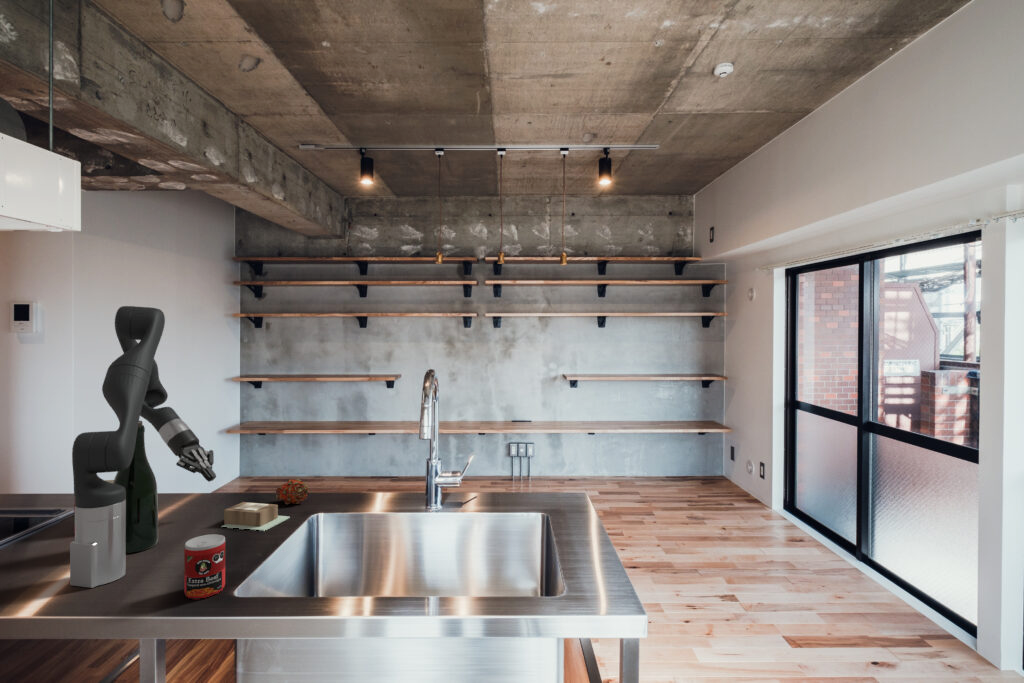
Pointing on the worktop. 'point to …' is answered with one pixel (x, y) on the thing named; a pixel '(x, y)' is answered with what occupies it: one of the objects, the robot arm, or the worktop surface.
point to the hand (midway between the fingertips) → (212, 479)
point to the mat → (262, 528)
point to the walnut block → (251, 514)
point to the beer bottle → (140, 499)
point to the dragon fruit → (292, 487)
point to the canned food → (204, 566)
